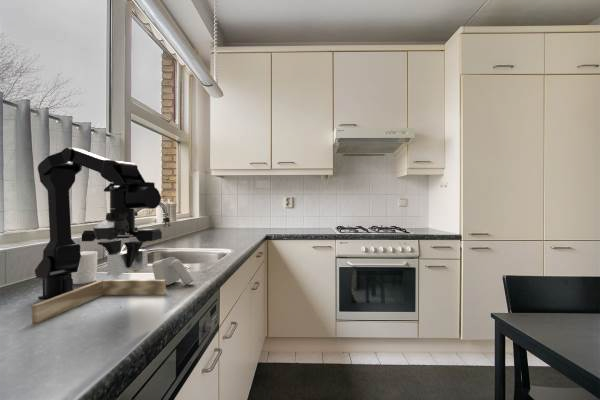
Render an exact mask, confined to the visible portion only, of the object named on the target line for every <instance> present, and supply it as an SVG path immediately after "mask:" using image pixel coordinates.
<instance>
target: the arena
mask: <svg viewBox="0 0 600 400" xmlns="http://www.w3.org/2000/svg"><path fill="white" fill-rule="evenodd" d="M166 287H167V285H166V280H155V279H99V280H97V281H94V282H91V283H87V285H83V286H81V287H78V288H75V289H73V290H72V291H70V292H67V293H64V294H62V295H59V296H56V297H53V298H51V299H45V300H43V301H41V302H38V303H36V304H32V305H31V318H32V321H31V322H32V324H40V323H42V322H45V321H47V320H49V319H52V318H53V317H56V316H58V315H60V314H62V313H65V312H66V311H70V310H72V309H73V308H76V307H78V306H79V305H80V306H81V305H82V304H83V305H84V304H85V303H87V302H90V301H91V300H94V299H96V298H98V297H101V296H103V295H112V296H113V295H114V296H117V295H118V296H119V295H123V296H126V295H132V296H133V295H138V296H139V295H142V296H143V295H147V296H148V295H151V296H152V295H158V296H159V295H162V296H163V295H165V294H166V291H167V288H166Z"/></svg>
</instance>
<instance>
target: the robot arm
mask: <svg viewBox="0 0 600 400" xmlns="http://www.w3.org/2000/svg"><path fill="white" fill-rule="evenodd" d="M83 167H84V168H87V169H90V170H92V171H95V172H98V173H99V174H100V176H101V177H102V178H103V179H105V180H106V181H107V182H109V184H108V185H107V186H106V187H105V188H103V192H106V193H107V192H109V212H107V213H106V215H105V220H102V221H100V222H99V223H97V224H96V225H94V226H93V228H92V229H85V230H84V231H83V232H82V233H81V242H94V241H95V240H97V241H99V242H97V245H100V246H102V247H103V248H105V250H106V252H108V255H110V254H113V253H117V252H121V251H122V249H121V248H122V239H129V240H128V241H127V242H124V246H125V248H126V250H127V268H129V267H131V266H132V263H133V261H134V259H135V257H136V255H137V253H138V251H139V250H141V247H142V245H143V244H144V243H147V242H154V241H157V240H161V239H162V237H163V236H162V234H163V232H162V230H161V229H160V228H143V229H138V226H136V225H135V224H136V220H135V219H136V216H138V212H137V211H135V210H137V209H138V210H139V209H140V210H141V209H147V210H149V209H151V210H153V209H156V208H158V207H159V205H160V204H161V200H162V197H161V193H160V191H159V189H158V188H157V187H155V182H153V181H152V182H149V181H146V180H145V179H144V177H143V175H142V174H141V172H140V170H139V168H138V165H137V164H136V163H134V162H127V161H119V160H113V159H112V160H111V159H109V158H105V157H103V156H100V155H97V154H94V153H92V152H90V151H89V152H88V151H87V150H85V149H83V148H82V149H81V148H79V147H78V148H77V147H71V146H70V147H69V146H68V147H65V148H64V149H62V150H61V151H59V152H56V153H53V154H50V155H49V156H47V157H46V158H44V159H42V161H41V162H39V164H38V165H37V171H38V176H39V181H40V183H41V184H42V186H43V187H44V188H45V189H46V192H47V204H48V205H47V206H48V223H49V226H48V227H49V241H48V243H47V245H46V246H45V247H44V249H43V254H42V260H41V261H40V262H39V264H38V265H37V266H36V267H35V269H34V274H35V278H37V279H38V278H39V279H42V295H40V296H38V297H37V299H38V300H39V299H41V300H44V299H45V300H48V299H51V298H53V297H56V296H59V295H62V294H64V293H67V292H70V291H72V290H74V284H73V279H72V273H73V272H77V270H78V266H79V262H80V257H81V254H80V252H81V245H80V244H79V243H76V242H75V241H74V240H73V239H72V228H71V227H72V226H71V225H72V223H71V203H70V189H71V188H72V187H73V185H74V184H75V182H76V175H77V174H79V173H80V172H81V171H82V170H83Z"/></svg>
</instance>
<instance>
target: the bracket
mask: <svg viewBox="0 0 600 400" xmlns="http://www.w3.org/2000/svg"><path fill="white" fill-rule="evenodd" d="M106 256H107V257H106V258H107V260H106V261H107V265H106V266H107V267H106V269H107V270H106V271H107V276H120V275H123V274H125V273H127V272H130V271H133V270H144V269H147V268H148V267H149V266H148V260H149V259H148V257H149V256H148V249H139V251H138V253H137V255H136V257H135V259H134V261H133V263H132V266H131V267H129V268H127V249H125V250H121V252H117V253H113V254H110V255H109V254H107V255H106Z"/></svg>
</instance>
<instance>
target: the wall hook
mask: <svg viewBox="0 0 600 400" xmlns="http://www.w3.org/2000/svg"><path fill="white" fill-rule="evenodd" d="M151 266H152V267H151V268H152V272H153V277H154V280H166V286H168V285H172V284H173V283H176V282H178V281H180V280H181V282H182V284H184V286H185V285H186V284H188V285H189V284H191V283H193V281H194V278H193V277H192V275H191V274H190V272H189V271H188V269H187V268H186V267H185V265H184V264H183V262H182V261H181V260H180V259H177V258H176V257H175V256H171V257H167V258H162V259H160V260H156V261H153V262H152V265H151ZM186 286H187V285H186Z"/></svg>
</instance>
